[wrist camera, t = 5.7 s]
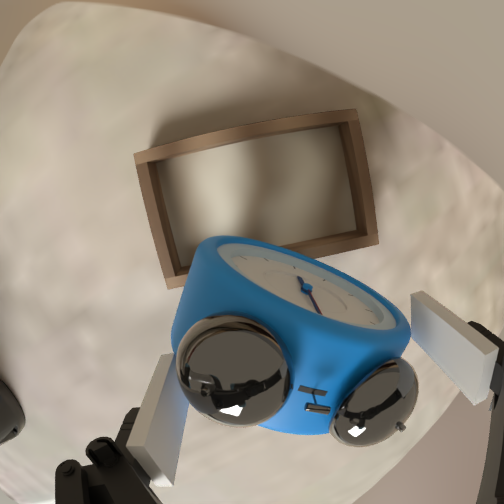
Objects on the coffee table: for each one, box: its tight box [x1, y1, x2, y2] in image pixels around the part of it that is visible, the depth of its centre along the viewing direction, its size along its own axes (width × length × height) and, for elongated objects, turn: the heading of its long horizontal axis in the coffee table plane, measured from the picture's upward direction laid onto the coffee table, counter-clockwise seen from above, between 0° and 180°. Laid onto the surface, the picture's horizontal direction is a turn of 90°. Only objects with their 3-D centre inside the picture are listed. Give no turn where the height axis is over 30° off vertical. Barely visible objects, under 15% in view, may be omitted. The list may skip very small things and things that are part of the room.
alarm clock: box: [171, 235, 419, 447], centre depth 17 cm, size 13×6×15 cm, turn 70°
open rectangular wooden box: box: [134, 109, 379, 289], centre depth 27 cm, size 19×12×4 cm, turn 102°
